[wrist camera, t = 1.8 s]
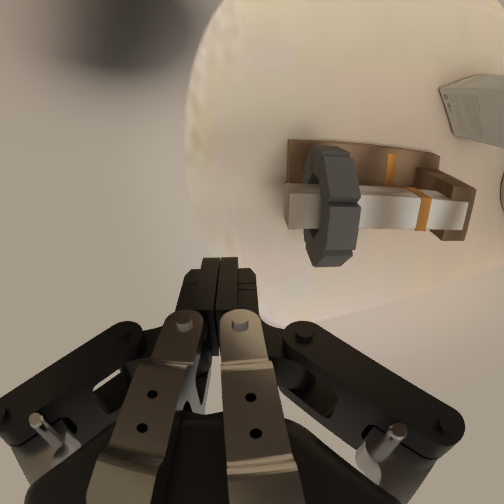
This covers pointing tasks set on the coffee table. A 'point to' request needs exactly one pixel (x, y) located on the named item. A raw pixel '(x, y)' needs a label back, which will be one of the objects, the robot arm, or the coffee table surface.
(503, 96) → the skincare box
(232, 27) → the coffee table surface
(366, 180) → the pipe stand
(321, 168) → the o ring
